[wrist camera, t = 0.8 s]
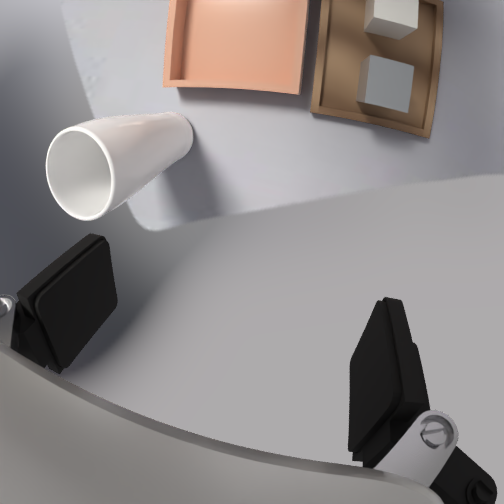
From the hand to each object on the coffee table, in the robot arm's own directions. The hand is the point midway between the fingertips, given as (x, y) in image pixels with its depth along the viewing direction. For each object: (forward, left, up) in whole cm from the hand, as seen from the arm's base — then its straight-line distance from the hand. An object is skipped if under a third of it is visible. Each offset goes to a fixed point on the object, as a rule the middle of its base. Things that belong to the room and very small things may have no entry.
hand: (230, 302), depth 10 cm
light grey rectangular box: (-16, +7, -22) cm, 28 cm away
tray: (-12, +7, -22) cm, 26 cm away
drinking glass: (-1, -13, -23) cm, 26 cm away
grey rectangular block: (-9, +7, -22) cm, 24 cm away
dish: (-13, -6, -22) cm, 27 cm away
